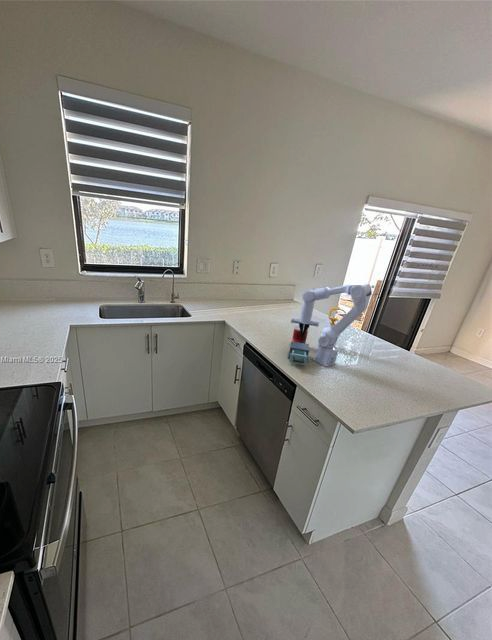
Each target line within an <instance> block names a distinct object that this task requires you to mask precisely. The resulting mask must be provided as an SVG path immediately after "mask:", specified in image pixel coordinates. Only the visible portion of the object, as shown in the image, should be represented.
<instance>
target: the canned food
mask: <svg viewBox="0 0 492 640" xmlns="http://www.w3.org/2000/svg"><path fill="white" fill-rule="evenodd" d="M303 330H304V328H303ZM308 332H309V328H308V329H307V331H306V332H305V334H304V336H303V338H302V337H301V332H300V327H299V325H296V326H294V328H293V333H292V338H291V341H292V342H299V343H305V344H307V343H306V342H307V337H308ZM302 333H303V332H302Z"/></svg>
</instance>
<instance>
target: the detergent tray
mask: <svg viewBox="0 0 492 640" xmlns="http://www.w3.org/2000/svg"><path fill="white" fill-rule="evenodd" d="M307 357H309V355H308V356H306V351H301V350H295V349H293V350H292V353H291V354H290V359H288V363H290V364H291V363H292V364H296V365H303V366H306V365H307V363H308V358H307Z"/></svg>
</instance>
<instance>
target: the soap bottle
mask: <svg viewBox="0 0 492 640" xmlns="http://www.w3.org/2000/svg"><path fill="white" fill-rule="evenodd" d="M340 309H341V308H340V307H339V306H334V307H331V308H330V309H329V312H328V318H329V320H330V321H331V322H329V324H328V326H326V327H324V328H323V329H322V332H321V335H320V336H322V335H325V334H326V333H327V332H328V331H329V330H331V329H332V328H333V327H334V326H335V325H336V323H335V322H336V321H337V322H339V318H337V317H332V316H331V315H332V312H333V311H336V310H340ZM336 346H337V341H336V342H335V343H334V349H335V350H336Z"/></svg>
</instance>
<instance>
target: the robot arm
mask: <svg viewBox="0 0 492 640" xmlns="http://www.w3.org/2000/svg"><path fill="white" fill-rule="evenodd" d="M372 291H373V290H372V286H371V285H370V284H369V283H367V282H362V283H349V284H346V285H339V286H337V287H331V288H330V287H328V286H325V285H322V286H321V287H319V288H315V287H313V288H312V289H308V290H305V291H304V292H303V293H302V296H301V298H302V300H303V301H302V306H301V310H300V316H299V318H290V323H291V324H298V326H299V327H300V332H301V337H302V338H303V336H304V334H305V332H306V331H307V329H308V330H309V328H310V326H311V327H316V328H318V327H319V326H320V325H319V324H320V322H318V321H314V320H312V316H313V312H314V307H315V301H321V300H327V299H329V298H330V297H331V296H333V295H339V294H346V295H347V296H350V297H351V299H352V301H353V306H352V307H351V309H350V310H349V311H347V312H346V314H345V315H343V316H342V318H341V319H339V320H338V321H337V323H335V326H334V327H333V328H332V329H331V330H329V331H328V332H327V333H326V334H325V335H322V334H321V335H322V336H321V335H320V336H319V337H318V338H317V343H318V348H317V352H316V355H315V356H316V357H312V359H311V360H312V361H314V362H316V363H318V364H320V365H322V366H323V367H329V366H333V365H336V361H337V358H338V357H337V356H338V351H337V350H336V348H335V349H334V343H335V342H336V343H337V341H338V338H339V337H340V336H341V334H342V333H343V332H344V331H345V330H346V329H347V328H348V327H349V326H350V325H352V324H353V323H354V322H355V321H356V320H357V319H358V318H359V317H360V316H361V315H362V314H363V313H364V312H365V311H366V310H367V309H368V306H369V302H370V299H371V296H372V295H373V292H372ZM303 328H304V330H303ZM302 332H303V333H302Z"/></svg>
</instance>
